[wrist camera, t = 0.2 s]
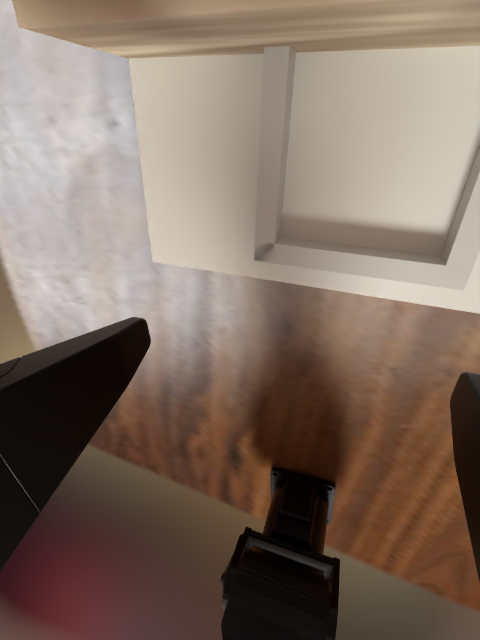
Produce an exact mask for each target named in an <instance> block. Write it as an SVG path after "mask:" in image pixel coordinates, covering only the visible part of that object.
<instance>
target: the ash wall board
mask: <svg viewBox="0 0 480 640" xmlns="http://www.w3.org/2000/svg"><path fill="white" fill-rule="evenodd" d="M12 1H13V5H14V9H15V14H16V18H17V22H18V26H19V27H20V28H24V29H27V30H31V31H34V32H38V33H41V34H45V35H48V36H52V37H55V38H59V39H62V40H66V41H69V42H73V43H76V44H80V45H83V46H87V47H90V48H94V49H97V50H101V51H104V52H108V53H111V54H115V55H118V56H122V57H125V58H155V57H183V56H211V55H239V54H263V52H264V47H281V46H290V47H291V48H292V49H293V50H294V51H295V52H324V51H352V50H380V49H408V48H436V47H464V46H480V0H12Z"/></svg>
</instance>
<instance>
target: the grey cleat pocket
mask: <svg viewBox="0 0 480 640" xmlns="http://www.w3.org/2000/svg"><path fill="white" fill-rule="evenodd" d="M128 60H129V68H130V76H131V85H132V93H133V101H134V110H135V118H136V127H137V135H138V143H139V152H140V160H141V168H142V177H143V185H144V194H145V202H146V210H147V219H148V227H149V236H150V244H151V252H152V261H153V262H158V263H164V264H171V265H177V266H183V267H189V268H196V269H202V270H208V271H215V272H221V273H227V274H234V275H240V276H246V277H253V278H259V279H265V280H272V281H278V282H284V283H291V284H297V285H303V286H309V287H316V288H322V289H328V290H335V291H341V292H347V293H354V294H360V295H366V296H373V297H379V298H385V299H392V300H398V301H404V302H410V303H417V304H423V305H429V306H436V307H442V308H448V309H455V310H461V311H467V312H474V313H480V46H464V47H436V48H408V49H380V50H352V51H324V52H295V51H294V50H293V49H292V48H291V47H290V46H281V47H264V52H263V54H239V55H211V56H183V57H155V58H128Z"/></svg>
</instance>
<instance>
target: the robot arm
mask: <svg viewBox="0 0 480 640" xmlns="http://www.w3.org/2000/svg"><path fill="white" fill-rule="evenodd" d="M150 343H151V339H150V334H149V330H148V325H147V322H146V320H145V319H143V318H137V317H132V318H129V319H126V320H123V321H120V322H117V323H115V324H112V325H109V326H106V327H103V328H101V329H98V330H95V331H92V332H89V333H87V334H84V335H81V336H78V337H75V338H72V339H70V340H67V341H64V342H61V343H58V344H56V345H53V346H50V347H47V348H44V349H41V350H39V351H36V352H33V353H30V354H28V355H25V356H22V357H21V358H20V357H19V358H16V359H13V360H10V361H8V362H5V363H2V364H0V571H1V569H2V568H3V566H4V565H5V564H6V562H7V560H8V559H9V557H10V556H11V555H12V553H13V552H14V550H15V549H16V548H17V546H18V545H19V543H20V542H21V540H22V539H23V537H24V536H25V534H26V533H27V532H28V530H29V529H30V527H31V526H32V524H33V523H34V521H35V520H36V519H37V517H38V516H39V513H40V512H41V511H42V509H43V508H44V507H45V505H46V504H47V502H48V501H49V499H50V498H51V496H52V495H53V493H54V492H55V491H56V489H57V488H58V486H59V485H60V483H61V482H62V480H63V479H64V477H65V476H66V475H67V473H68V472H69V470H70V469H71V467H72V466H73V465H74V463H75V462H76V460H77V459H78V457H79V456H80V454H81V453H82V451H83V450H84V449H85V447H86V446H87V444H88V443H89V441H90V440H91V438H92V437H93V436H94V434H95V433H96V431H97V430H98V428H99V427H100V425H101V424H102V422H103V421H104V420H105V418H106V417H107V415H108V414H109V412H110V411H111V409H112V408H113V407H114V405H115V404H116V402H117V401H118V399H119V398H120V396H121V395H122V393H123V392H124V391H125V389H126V388H127V386H128V385H129V383H130V381H131V379H132V378H133V376H134V374H135V372H136V370H137V369H138V367H139V365H140V363H141V361H142V360H143V358H144V356H145V354H146V352H147V350H148V349H149V346H150ZM450 410H451V423H452V437H453V451H454V461H455V466H456V472H457V476H458V481H459V486H460V491H461V496H462V500H463V505H464V510H465V515H466V520H467V524H468V529H469V534H470V539H471V543H472V548H473V553H474V558H475V563H476V567H477V572H478V577H479V582H480V374H476V373H470V372H463V373H462V374H461V375H460V376H459V379H458V381H457V383H456V386H455V388H454V391H453V393H452V395H451V400H450ZM270 474H271V504H270V507H269V511H268V515H267V519H266V522H265V526H264V530H263V533H259V532H256V531H254V530H252V529H251V528H248V527H246V528H245V531H244V533H243V534H242V535H240V536H239V539H238V542H237V545H236V548H235V551H234V553H233V555H232V557H231V559H230V561H229V563H228V565H227V566H226V568H225V570H224V572H223V573H222V576H221V584H222V587H223V597H222V608H224V609H225V612H224V616H223V619H222V624H221V625H222V626H221V628H222V637H223V640H335V635H336V626H337V616H338V596H339V570H340V559H337V558H335V557H334V558H331V557H328V556H325V555H323V551H324V543H325V534H326V526H327V524H330V523H331V517H332V510H333V502H334V494H335V485H334V484H333V483H331V482H328V481H324V480H320V479H316V478H312V477H309V476H305V475H301V474H297V473H293V472H289V471H285V470H282V469H278V468H272V470H271V473H270Z"/></svg>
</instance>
